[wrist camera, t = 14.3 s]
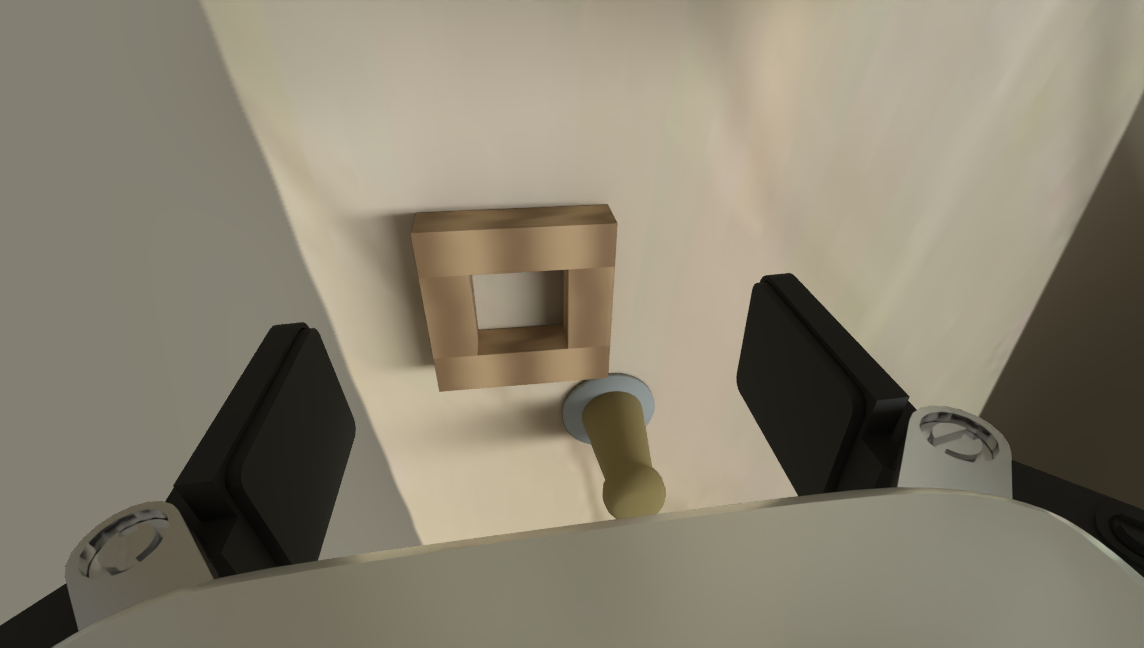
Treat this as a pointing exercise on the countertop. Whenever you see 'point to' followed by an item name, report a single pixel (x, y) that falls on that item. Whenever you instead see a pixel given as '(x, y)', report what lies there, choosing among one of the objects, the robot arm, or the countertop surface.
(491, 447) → the countertop surface
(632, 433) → the cork
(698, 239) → the countertop surface
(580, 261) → the socket ring
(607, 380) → the coaster
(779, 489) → the countertop surface
